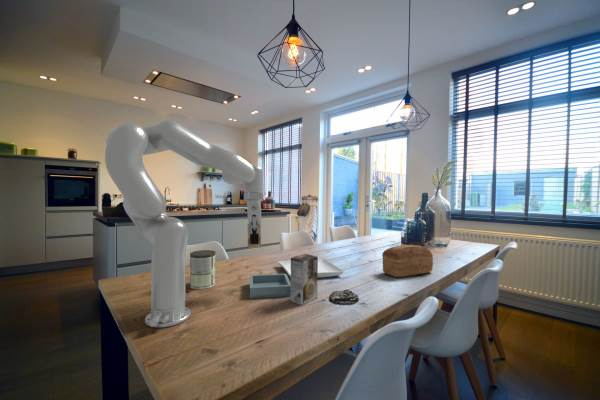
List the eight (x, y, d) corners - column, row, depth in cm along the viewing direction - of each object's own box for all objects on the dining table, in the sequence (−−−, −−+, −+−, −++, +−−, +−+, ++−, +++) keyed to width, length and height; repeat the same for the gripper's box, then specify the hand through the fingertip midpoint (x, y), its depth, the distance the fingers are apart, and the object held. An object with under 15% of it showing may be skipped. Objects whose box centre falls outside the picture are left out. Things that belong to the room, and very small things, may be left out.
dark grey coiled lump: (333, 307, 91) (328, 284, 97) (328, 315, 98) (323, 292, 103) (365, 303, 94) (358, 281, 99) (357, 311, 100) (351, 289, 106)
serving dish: (291, 296, 101) (291, 285, 101) (249, 298, 98) (249, 287, 98) (286, 282, 116) (286, 273, 116) (249, 284, 113) (250, 275, 113)
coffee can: (187, 284, 113) (187, 251, 112) (210, 279, 119) (211, 249, 119) (193, 291, 104) (193, 256, 104) (218, 286, 110) (218, 253, 110)
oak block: (260, 247, 102) (260, 225, 102) (247, 248, 101) (247, 225, 101) (260, 245, 107) (259, 223, 107) (247, 245, 106) (247, 223, 106)
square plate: (277, 267, 142) (277, 260, 142) (323, 264, 151) (323, 257, 151) (290, 283, 117) (290, 274, 117) (345, 278, 125) (345, 270, 125)
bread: (378, 273, 134) (378, 245, 133) (417, 267, 145) (417, 242, 145) (395, 280, 123) (396, 249, 122) (436, 273, 134) (437, 246, 134)
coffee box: (304, 294, 103) (305, 253, 103) (317, 298, 99) (318, 256, 99) (289, 300, 96) (290, 257, 96) (303, 305, 92) (303, 260, 92)
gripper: (264, 197, 96) (265, 246, 96) (261, 196, 112) (262, 238, 113) (243, 197, 94) (244, 247, 95) (244, 196, 111) (244, 239, 111)
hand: (254, 241), depth 104 cm, fingers closed on oak block, 5 cm apart
